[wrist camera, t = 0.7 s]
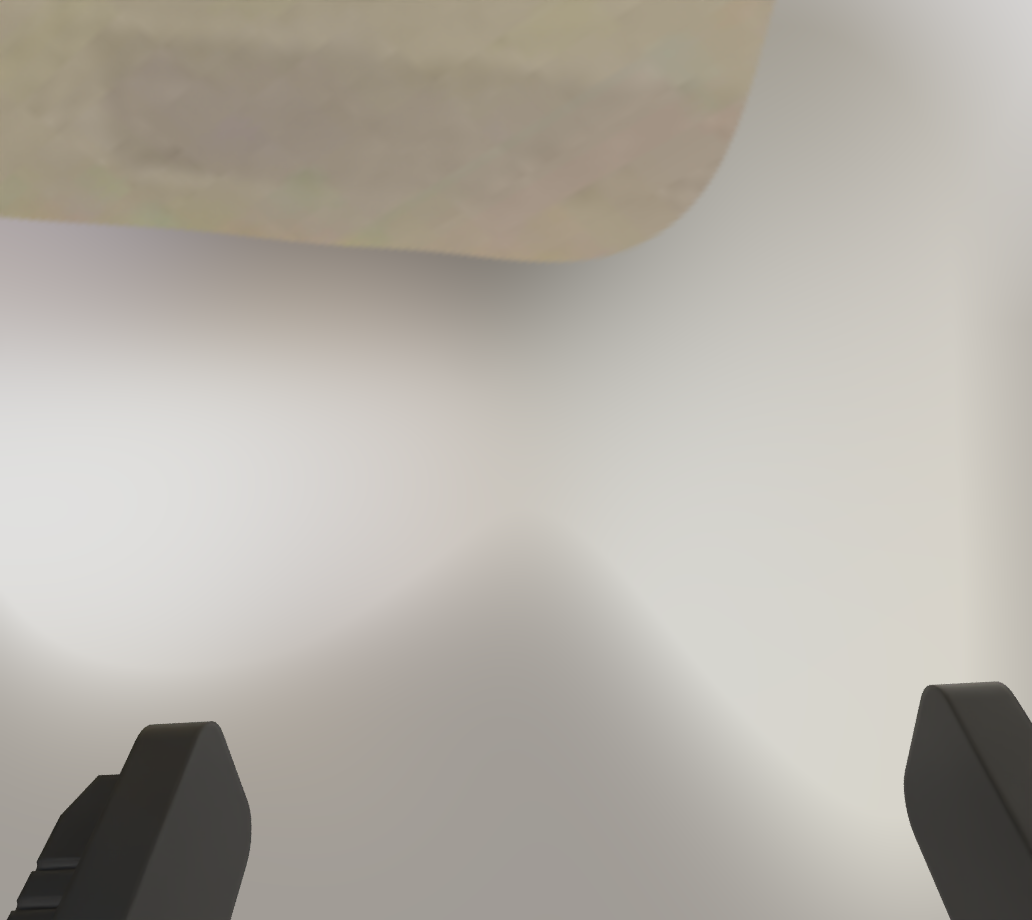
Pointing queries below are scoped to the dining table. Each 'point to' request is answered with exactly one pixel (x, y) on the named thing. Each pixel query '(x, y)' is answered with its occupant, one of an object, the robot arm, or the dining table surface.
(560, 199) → the dining table surface
